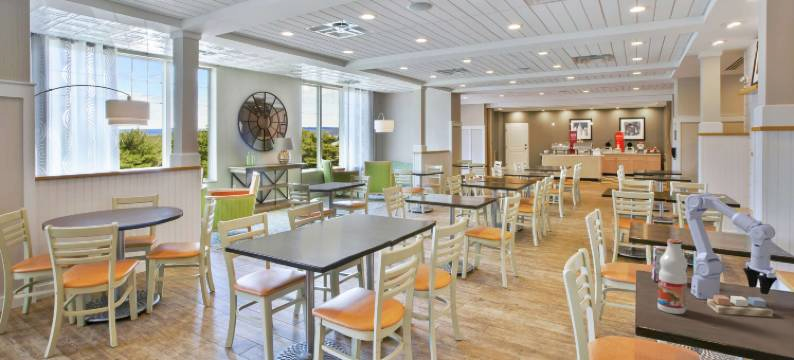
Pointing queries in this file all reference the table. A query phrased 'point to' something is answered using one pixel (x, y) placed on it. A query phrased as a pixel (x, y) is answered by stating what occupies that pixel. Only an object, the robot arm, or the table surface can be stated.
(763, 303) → the slate blue key
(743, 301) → the off-white key
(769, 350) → the table surface
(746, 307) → the light wood flat board
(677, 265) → the fruit juice
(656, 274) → the candy bar box
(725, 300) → the terracotta key
